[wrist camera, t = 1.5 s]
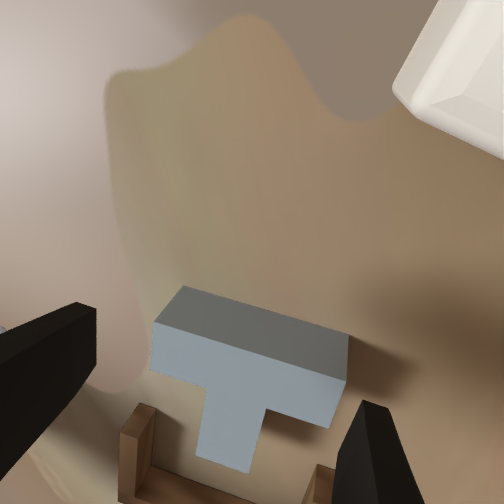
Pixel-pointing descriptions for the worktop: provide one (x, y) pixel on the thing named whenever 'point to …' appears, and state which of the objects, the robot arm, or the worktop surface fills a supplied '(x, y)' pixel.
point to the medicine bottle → (459, 73)
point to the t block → (247, 368)
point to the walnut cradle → (173, 486)
